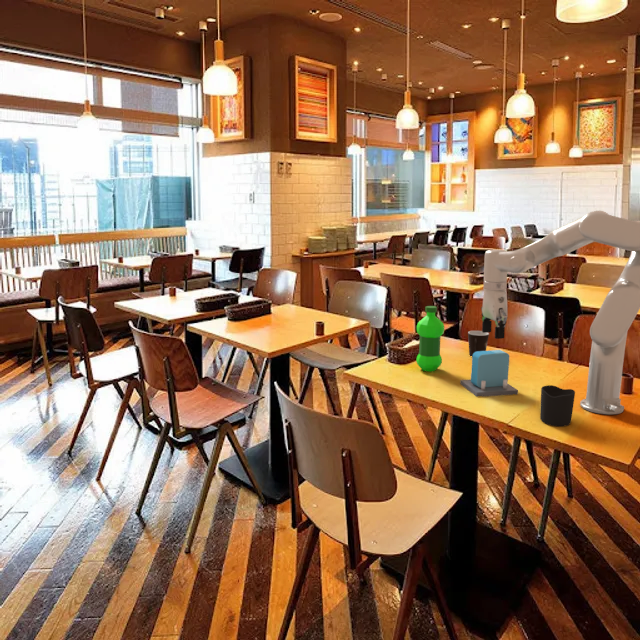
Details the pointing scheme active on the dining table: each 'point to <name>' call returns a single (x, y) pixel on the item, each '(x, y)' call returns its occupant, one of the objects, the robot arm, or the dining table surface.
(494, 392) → the pin tray
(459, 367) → the dining table surface
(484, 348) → the coffee mug
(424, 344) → the plastic bottle
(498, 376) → the blue rounded block
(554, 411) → the pen holder
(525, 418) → the dining table surface
